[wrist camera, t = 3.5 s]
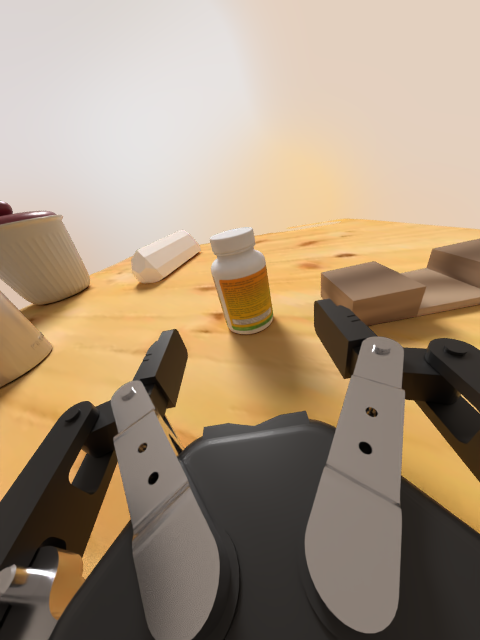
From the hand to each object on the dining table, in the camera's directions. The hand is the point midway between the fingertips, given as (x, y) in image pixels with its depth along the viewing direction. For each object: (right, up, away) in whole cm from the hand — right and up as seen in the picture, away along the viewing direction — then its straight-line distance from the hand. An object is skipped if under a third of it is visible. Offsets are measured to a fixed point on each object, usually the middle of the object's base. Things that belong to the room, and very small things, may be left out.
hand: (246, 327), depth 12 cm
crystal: (-18, +14, +41) cm, 47 cm away
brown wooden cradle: (+18, +3, +9) cm, 21 cm away
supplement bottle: (+1, 0, +11) cm, 12 cm away
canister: (-45, +7, +39) cm, 60 cm away
